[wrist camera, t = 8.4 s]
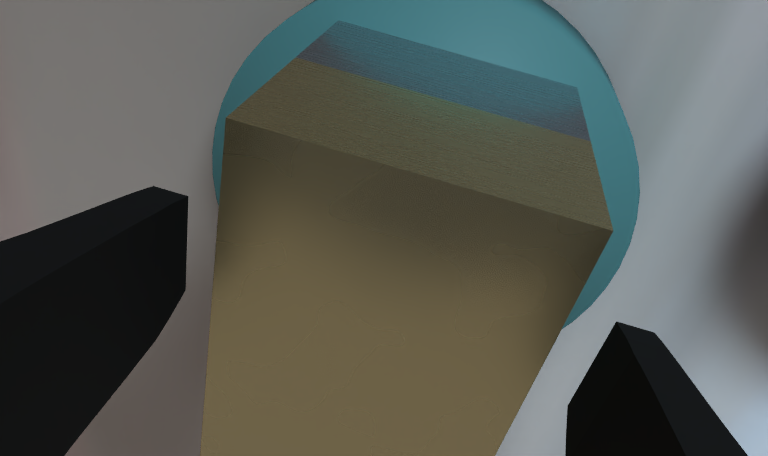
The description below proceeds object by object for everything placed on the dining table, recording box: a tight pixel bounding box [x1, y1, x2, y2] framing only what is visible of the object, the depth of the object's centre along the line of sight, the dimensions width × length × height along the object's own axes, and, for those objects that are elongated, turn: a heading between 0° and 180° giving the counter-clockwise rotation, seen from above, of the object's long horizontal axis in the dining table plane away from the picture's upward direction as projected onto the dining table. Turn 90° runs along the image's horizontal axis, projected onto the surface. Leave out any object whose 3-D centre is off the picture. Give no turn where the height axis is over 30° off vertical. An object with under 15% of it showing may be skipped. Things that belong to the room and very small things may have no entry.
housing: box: [200, 20, 613, 456], centre depth 11 cm, size 7×4×5 cm, turn 167°
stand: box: [212, 0, 640, 329], centre depth 13 cm, size 9×9×2 cm
